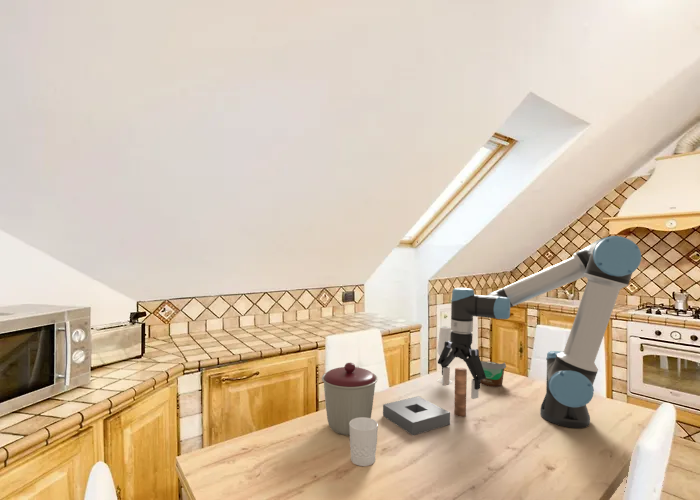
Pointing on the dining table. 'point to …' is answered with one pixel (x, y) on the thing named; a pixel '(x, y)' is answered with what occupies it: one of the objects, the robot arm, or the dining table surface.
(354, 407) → the canister
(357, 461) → the white cup
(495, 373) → the food container
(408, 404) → the socket block
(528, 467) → the dining table surface
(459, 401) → the peg
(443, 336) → the champagne flute
